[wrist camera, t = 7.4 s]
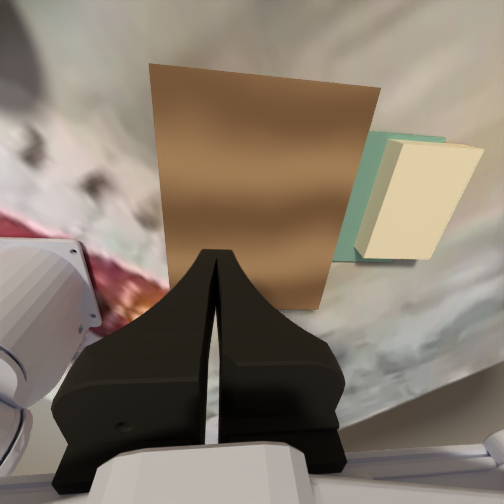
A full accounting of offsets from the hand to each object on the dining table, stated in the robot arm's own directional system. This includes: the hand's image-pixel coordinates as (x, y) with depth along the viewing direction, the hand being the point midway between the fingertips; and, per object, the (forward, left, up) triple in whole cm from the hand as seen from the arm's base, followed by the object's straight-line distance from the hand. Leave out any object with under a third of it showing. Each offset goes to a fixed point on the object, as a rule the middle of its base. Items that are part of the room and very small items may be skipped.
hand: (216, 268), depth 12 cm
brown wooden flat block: (0, -3, -10) cm, 11 cm away
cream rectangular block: (0, -15, -8) cm, 17 cm away
